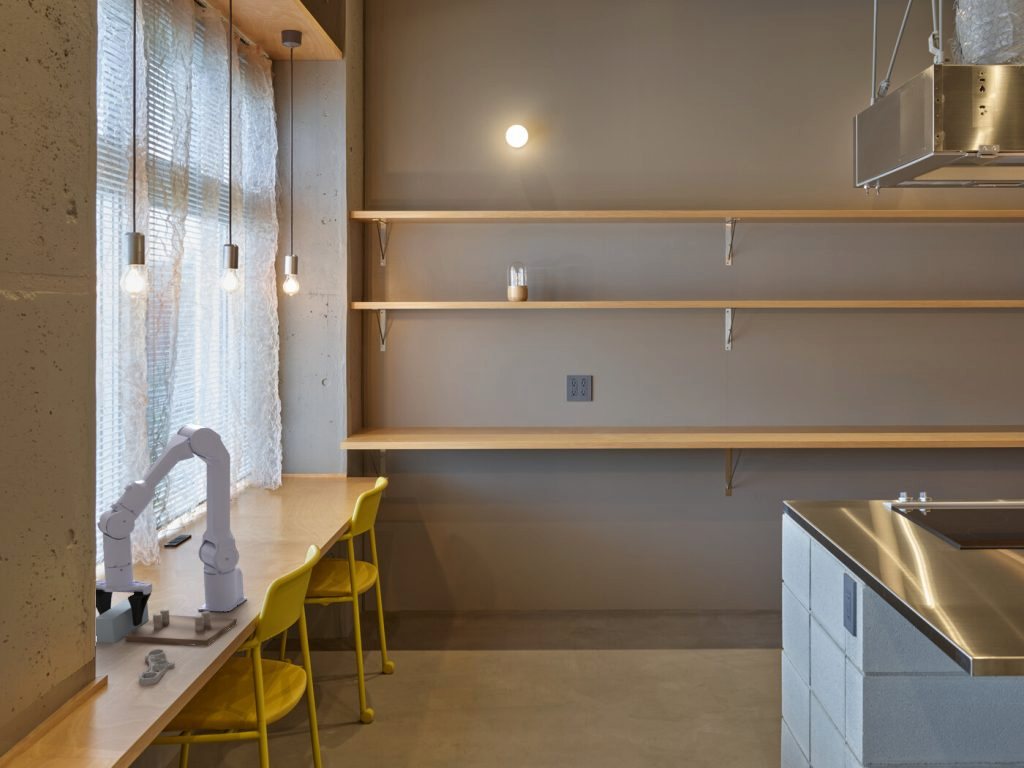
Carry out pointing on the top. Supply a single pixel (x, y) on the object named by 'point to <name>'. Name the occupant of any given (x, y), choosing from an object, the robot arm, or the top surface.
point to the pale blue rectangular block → (117, 622)
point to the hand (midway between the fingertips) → (122, 623)
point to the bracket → (155, 667)
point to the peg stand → (181, 629)
